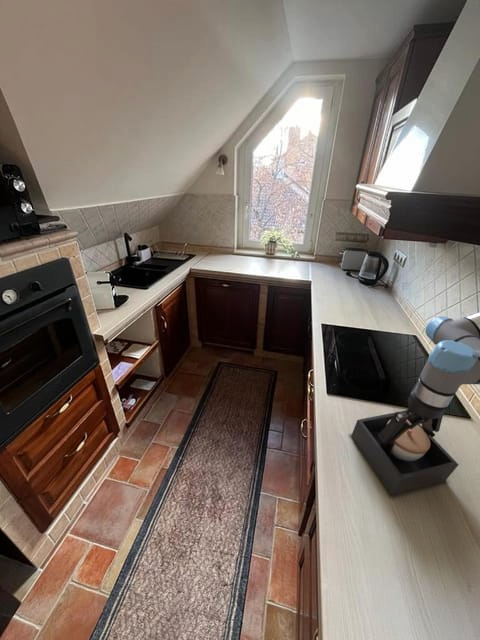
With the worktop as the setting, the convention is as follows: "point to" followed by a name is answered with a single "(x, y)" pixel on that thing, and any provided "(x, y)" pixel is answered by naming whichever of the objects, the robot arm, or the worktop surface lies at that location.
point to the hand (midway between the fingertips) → (399, 449)
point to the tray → (399, 472)
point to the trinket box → (411, 444)
